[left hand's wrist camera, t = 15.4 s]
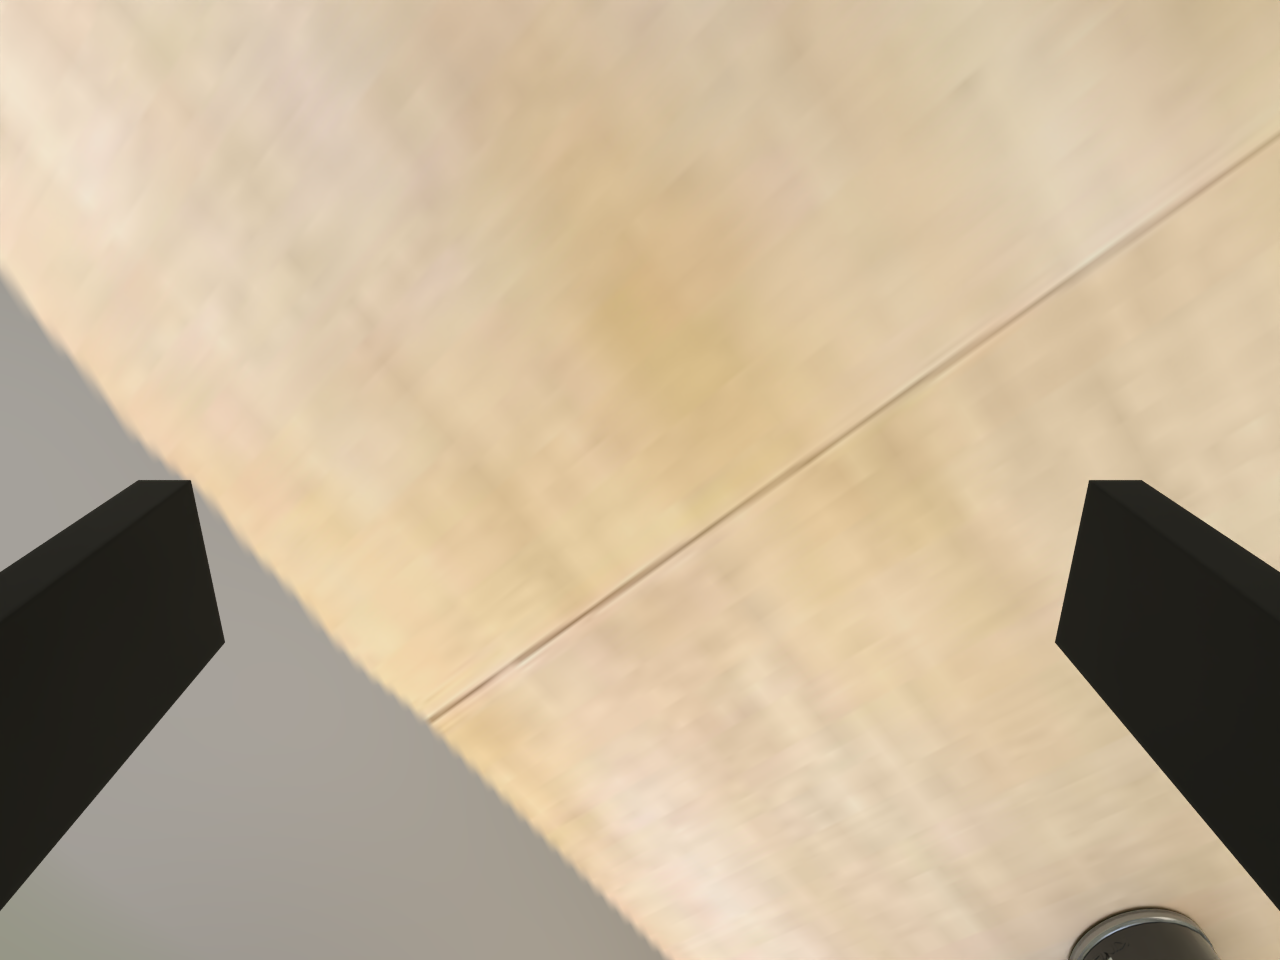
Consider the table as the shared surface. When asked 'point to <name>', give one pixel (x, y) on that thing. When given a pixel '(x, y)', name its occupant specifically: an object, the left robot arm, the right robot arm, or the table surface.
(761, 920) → the table surface
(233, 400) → the table surface
